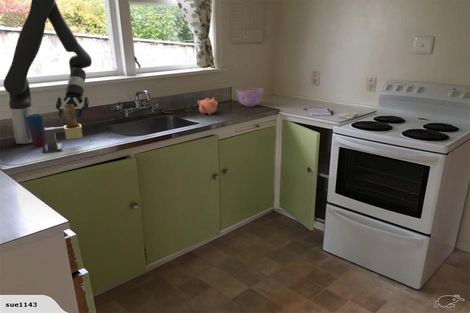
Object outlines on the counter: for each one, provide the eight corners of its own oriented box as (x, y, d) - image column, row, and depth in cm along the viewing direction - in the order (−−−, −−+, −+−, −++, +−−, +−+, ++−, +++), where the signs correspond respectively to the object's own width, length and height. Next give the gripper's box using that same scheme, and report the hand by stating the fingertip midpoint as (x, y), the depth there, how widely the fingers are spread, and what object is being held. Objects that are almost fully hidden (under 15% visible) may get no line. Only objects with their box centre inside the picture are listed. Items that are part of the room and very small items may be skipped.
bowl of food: (268, 104, 275) (269, 88, 272) (255, 109, 259) (255, 92, 256) (245, 102, 286) (245, 86, 282) (230, 106, 270) (230, 90, 266)
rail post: (69, 135, 176) (64, 106, 172) (69, 133, 180) (64, 104, 175) (78, 134, 178) (73, 105, 173) (78, 132, 181) (73, 103, 177)
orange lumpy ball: (219, 115, 243) (219, 99, 240) (201, 116, 240) (200, 100, 237) (214, 111, 256) (214, 96, 253) (197, 112, 254) (196, 96, 250)
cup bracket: (42, 153, 171) (39, 132, 168) (43, 147, 180) (40, 127, 177) (84, 148, 178) (81, 127, 174) (83, 143, 186) (80, 123, 183)
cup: (43, 142, 187) (38, 113, 182) (50, 145, 183) (44, 114, 178) (29, 146, 182) (23, 115, 177) (35, 148, 178) (29, 117, 173)
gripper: (57, 83, 178) (51, 113, 171) (88, 83, 179) (83, 112, 172) (63, 93, 185) (57, 121, 178) (93, 92, 185) (88, 121, 178)
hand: (70, 117), depth 175 cm, fingers open, 8 cm apart
